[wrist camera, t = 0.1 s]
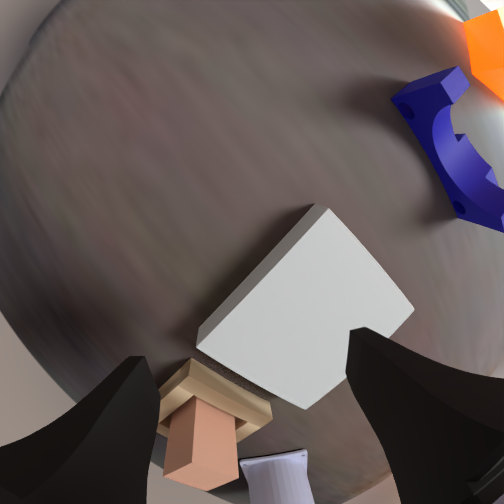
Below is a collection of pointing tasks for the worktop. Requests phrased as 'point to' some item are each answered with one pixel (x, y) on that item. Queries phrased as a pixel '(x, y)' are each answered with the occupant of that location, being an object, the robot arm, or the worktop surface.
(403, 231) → the worktop surface
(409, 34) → the worktop surface
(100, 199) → the worktop surface
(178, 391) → the socket
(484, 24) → the orange juice
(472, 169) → the cable clip
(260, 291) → the platform
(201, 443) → the block
